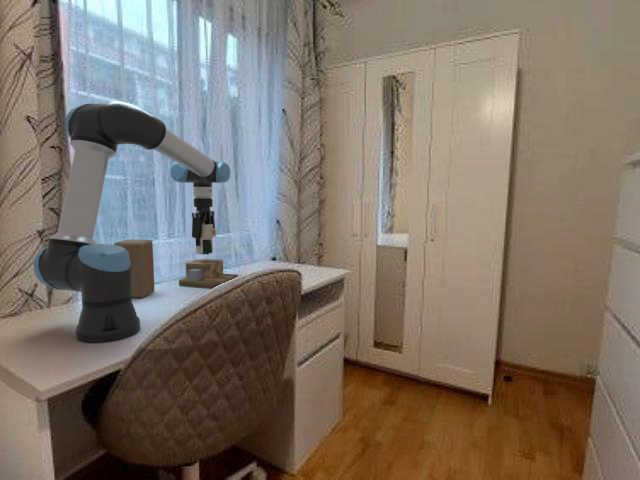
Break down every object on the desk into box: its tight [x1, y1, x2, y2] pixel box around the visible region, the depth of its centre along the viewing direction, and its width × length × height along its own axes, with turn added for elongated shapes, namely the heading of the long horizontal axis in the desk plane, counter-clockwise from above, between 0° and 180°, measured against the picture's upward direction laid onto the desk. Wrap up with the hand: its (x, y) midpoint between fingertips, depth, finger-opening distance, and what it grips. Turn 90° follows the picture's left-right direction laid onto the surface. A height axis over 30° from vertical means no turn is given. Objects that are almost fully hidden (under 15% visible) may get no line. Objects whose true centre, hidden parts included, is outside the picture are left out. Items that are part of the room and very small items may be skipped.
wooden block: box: [113, 238, 155, 299], centre depth 140 cm, size 10×10×20 cm
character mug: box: [200, 224, 218, 256], centre depth 161 cm, size 11×7×13 cm, turn 81°
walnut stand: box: [178, 258, 239, 290], centre depth 160 cm, size 16×18×8 cm
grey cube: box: [188, 269, 203, 281], centre depth 155 cm, size 4×4×4 cm
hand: (204, 252), depth 162 cm, fingers closed on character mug, 7 cm apart
